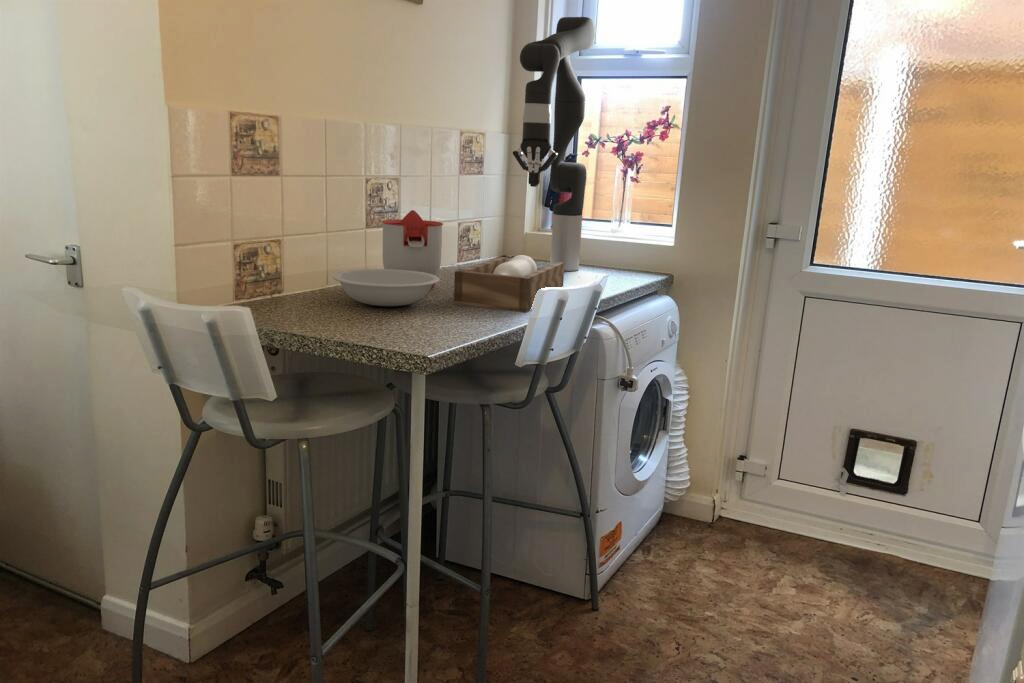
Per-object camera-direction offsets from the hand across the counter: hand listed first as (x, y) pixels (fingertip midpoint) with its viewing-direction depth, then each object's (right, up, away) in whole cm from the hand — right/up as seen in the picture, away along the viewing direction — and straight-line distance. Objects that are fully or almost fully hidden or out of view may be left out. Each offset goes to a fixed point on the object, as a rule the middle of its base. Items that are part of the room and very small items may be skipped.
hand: (533, 186), depth 222 cm
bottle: (-3, -23, -4) cm, 24 cm away
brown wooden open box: (-6, -32, -21) cm, 39 cm away
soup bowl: (-35, -35, -38) cm, 62 cm away
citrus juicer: (-32, -29, -14) cm, 46 cm away
